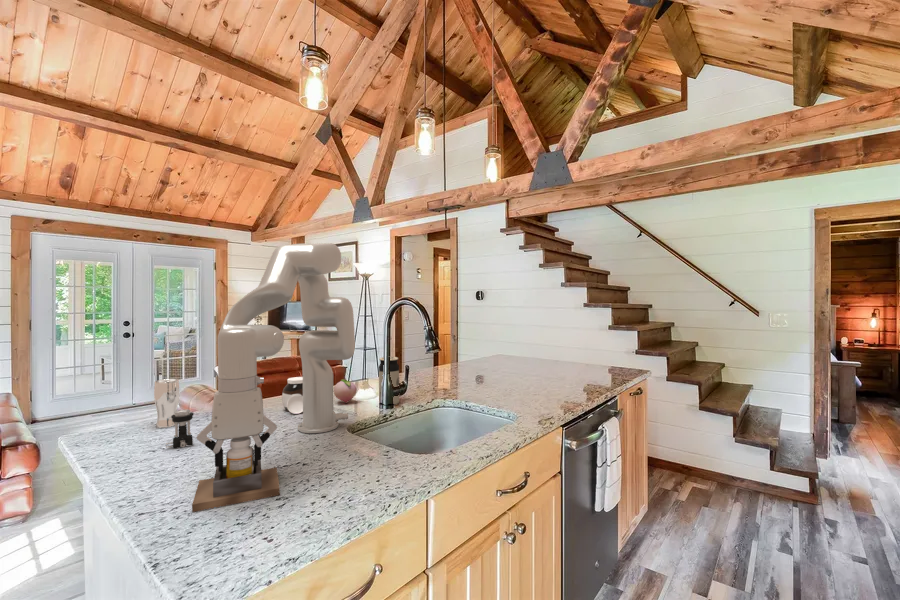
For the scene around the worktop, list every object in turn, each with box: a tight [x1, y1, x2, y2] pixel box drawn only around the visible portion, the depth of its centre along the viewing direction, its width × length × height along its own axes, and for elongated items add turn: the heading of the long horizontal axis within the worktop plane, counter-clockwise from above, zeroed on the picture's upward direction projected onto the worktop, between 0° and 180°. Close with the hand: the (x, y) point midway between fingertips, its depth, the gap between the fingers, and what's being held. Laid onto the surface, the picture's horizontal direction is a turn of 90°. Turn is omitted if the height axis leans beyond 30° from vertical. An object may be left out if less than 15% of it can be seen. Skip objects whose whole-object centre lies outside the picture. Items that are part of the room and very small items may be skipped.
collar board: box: [191, 459, 281, 513], centre depth 90 cm, size 16×12×4 cm
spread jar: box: [281, 376, 303, 415], centre depth 155 cm, size 12×11×12 cm
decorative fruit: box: [333, 377, 357, 404], centre depth 165 cm, size 9×8×10 cm
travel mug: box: [378, 356, 400, 405], centre depth 165 cm, size 8×8×18 cm
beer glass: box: [153, 378, 180, 429], centre depth 137 cm, size 7×7×15 cm
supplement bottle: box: [225, 436, 254, 479], centre depth 91 cm, size 5×5×10 cm
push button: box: [165, 409, 194, 449], centre depth 118 cm, size 7×5×10 cm
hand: (238, 465), depth 90 cm, fingers open, 6 cm apart
